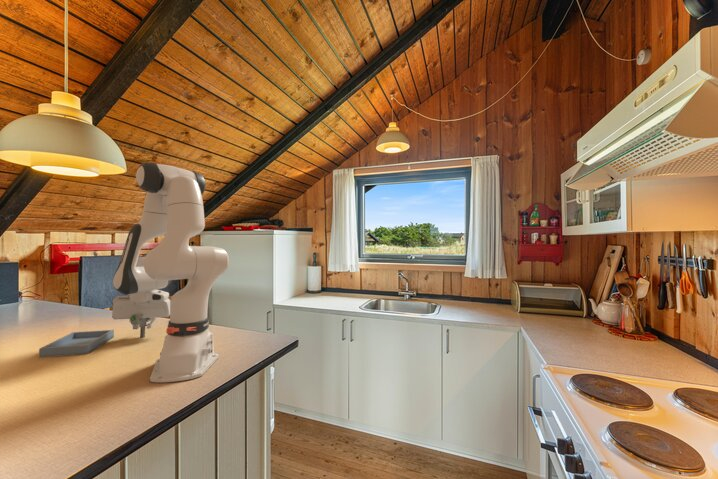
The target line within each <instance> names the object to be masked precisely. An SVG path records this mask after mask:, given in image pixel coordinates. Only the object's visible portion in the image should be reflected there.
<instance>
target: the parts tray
mask: <svg viewBox="0 0 718 479" xmlns="http://www.w3.org/2000/svg"><path fill="white" fill-rule="evenodd" d="M114 335H115V330H114V329H107V330H89V331H88V330H87V331H72V332H71V333H69V334H67V335H65V336H62V337H60V338H58V339H56V340H54V341H52V342H50V343H48V344H46V345H43V346H41V347H40V348H38V351H39V352H38V353H39V354H38V357H39V358H49V357H62V356H76V355H88V354H90V353H91V352H93V351H94V350H96V349H98V348H99V347H101V346H102V345H103V344H105V343H107V342H109V341H110V340H111V339H113V338H114V337H115V336H114Z"/></svg>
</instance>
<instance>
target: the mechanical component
mask: <svg viewBox="0 0 718 479" xmlns="http://www.w3.org/2000/svg"><path fill="white" fill-rule="evenodd" d="M142 316H143V314H142V315H140V314H139V315H132V316H131V323H132V324H137V325H139V328H140V333H139V334H140V335H139V337H140V338H146V327H147V323H148V322H149V323H150V322H151V320H150V318H143V317H142ZM140 317H142V318H140ZM131 323H130V324H131ZM132 324H131V325H132Z"/></svg>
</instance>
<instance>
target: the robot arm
mask: <svg viewBox="0 0 718 479" xmlns="http://www.w3.org/2000/svg"><path fill="white" fill-rule="evenodd" d="M135 180H136V185H137V186H138V188H139V189H141V191H144V192H146V195H145V198H144V203H143V211H142V215H141V217H140V219H139V220H138V222H137V223H136V224H133V225H132V226H131V228H130V230H129V232H128V234H127V237H126V240H125V243H124V247H123V250H122V254H121V257H120V260H119V262H118V263H119V264H118V267H117V269H116V271H115V273H114V275H113V279H112V286H113V288H114V290H116V291H117V292H118V293H120V294H122V295H117V296H116V297H114V298H113V299H112V306H113V307H112V312H111V318H112V319H113V320H115V321H116V320H129V323H130V324H131V326H132V330H138V329H139V328H140V327H139V325H137V324H132V323H131V316H132V315H139V314H140V315H142V314H143V316H142V317H143V318H150V320H151V321H149V323H148V322H147V323H146V325H147V326H146V329H148V330H149V329H152V328H153V324H154V322H155V320H157V318H168V317H169V320H168V325H167V327H166V331H165V332H166V335H165V336H164V341H163V344H162V348H161V351H160V353H159V358H158V359H157V360H156V361H155V363H154V366H153V368H152V372H151V375H150V376H149V382H152V383H171V382H173V383H174V382H181V381H187V380H192V379H196V378H199V377H202V376H203V375H204V374H205V373H206V372H207V370H208V369H209V368H210V367H211V366H212V365H213V364H214V363H215V362H216V361H217V360H218V359H219V358H220V355H219V353H216V352H215V349H214V345H215V344H214V333H213V332H212V331H210V329H209V325H210V320H209V316H208V306H209V296H210V293H211V290H212V288H213V286H214V284H215V282H216V281H217V280H218V279H219V278H220V277H221V275H223V274H224V273H225V272H227V271H228V270H227V269H228V267H229V265H230V257H229V254H228V252H227V251H226V250H225V249H224V248H222V247H219V246H212V245H190V244H189V243H190V239H191V238H193V237H196V236H197V235H200V234H201V233H202V232H203V231H204V229H205V226H206V222H205V221H206V219H205V209H204V208H205V207H204V201H203V194H204V193H205V190H206V180H205V178H204V176H203V174H201V173H200V172H197V171H194V170H188V169H185V168H182V167H177V166H175V165H169V164H162V163H156V162H151V161H150V162H149V161H148V162H143V163H141V164H140V165H139V166H138V168H137V171H136V174H135ZM162 236H164V237H163V238H162V239H161V241H160V242H159V244H157V245H156V246H155V247H153V248H151V249H150V250H149V251H148V252H147V254H146V255H142V256H140V253H141V250H142V247H143V246H144V245H145V244H146V243H147V242H149V241H151V240H153V239H157V238H159V237H162ZM187 279H188V282H187V284H186V285H185V286H184V287H183V288H181V289H180V290H177V291H176V292H175V293H174V294H173V295H172V296H171V299H170V298H169V297H170V293H169V292H168V291H164V290H161V289H164V288H167V287H168V286H169V285H170V284H171V282H172V281H176V280H178V281H179V280H187ZM142 317H140V318H142Z"/></svg>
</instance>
